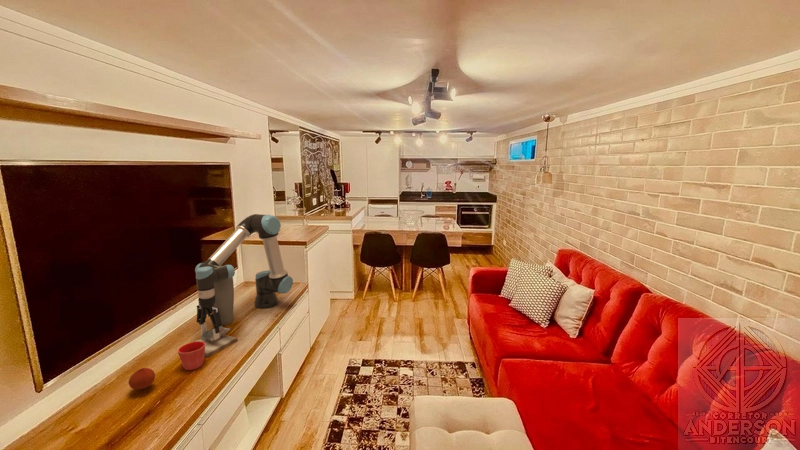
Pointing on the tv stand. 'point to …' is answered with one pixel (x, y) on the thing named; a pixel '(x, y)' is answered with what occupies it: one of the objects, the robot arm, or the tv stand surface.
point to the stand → (217, 344)
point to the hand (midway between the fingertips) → (210, 336)
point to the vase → (224, 299)
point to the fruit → (142, 378)
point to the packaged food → (209, 334)
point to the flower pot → (192, 355)
